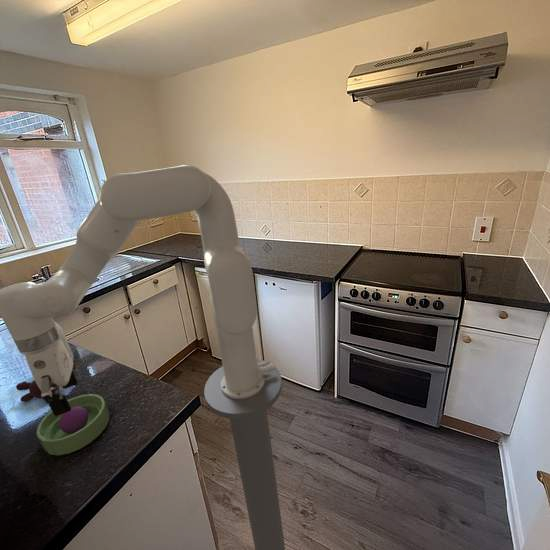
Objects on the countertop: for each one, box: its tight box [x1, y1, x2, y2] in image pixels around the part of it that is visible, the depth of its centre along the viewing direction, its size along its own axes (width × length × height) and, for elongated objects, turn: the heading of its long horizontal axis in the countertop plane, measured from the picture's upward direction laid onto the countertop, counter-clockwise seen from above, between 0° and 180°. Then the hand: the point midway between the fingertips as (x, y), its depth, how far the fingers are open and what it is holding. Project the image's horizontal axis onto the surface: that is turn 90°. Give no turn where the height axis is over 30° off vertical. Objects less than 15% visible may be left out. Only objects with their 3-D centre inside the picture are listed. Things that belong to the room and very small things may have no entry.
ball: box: [59, 407, 88, 434], centre depth 73 cm, size 6×6×6 cm
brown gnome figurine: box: [15, 379, 57, 403], centre depth 87 cm, size 7×7×15 cm
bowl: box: [36, 393, 110, 456], centre depth 74 cm, size 14×14×5 cm
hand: (67, 398), depth 71 cm, fingers open, 9 cm apart
